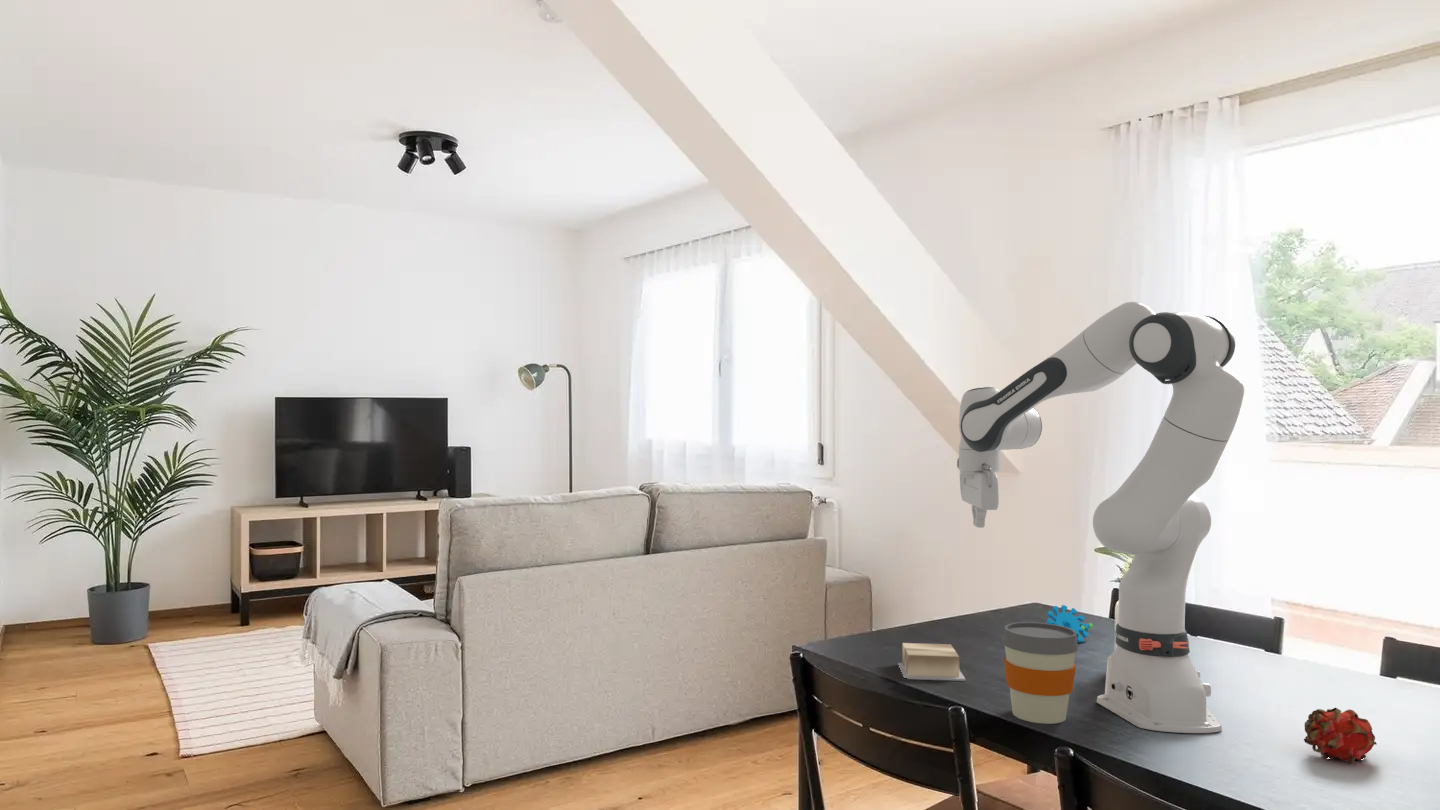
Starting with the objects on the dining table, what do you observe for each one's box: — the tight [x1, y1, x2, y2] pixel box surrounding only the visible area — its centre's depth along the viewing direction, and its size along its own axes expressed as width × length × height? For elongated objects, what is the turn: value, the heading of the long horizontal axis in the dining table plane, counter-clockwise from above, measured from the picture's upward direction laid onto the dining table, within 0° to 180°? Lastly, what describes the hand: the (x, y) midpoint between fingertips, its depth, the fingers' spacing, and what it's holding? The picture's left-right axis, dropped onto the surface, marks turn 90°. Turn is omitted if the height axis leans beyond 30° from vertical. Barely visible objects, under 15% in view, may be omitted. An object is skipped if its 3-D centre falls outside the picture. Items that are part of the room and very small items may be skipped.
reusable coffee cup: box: [1002, 621, 1079, 725], centre depth 168 cm, size 13×13×15 cm
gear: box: [1046, 604, 1094, 643], centre depth 225 cm, size 11×6×10 cm
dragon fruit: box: [1303, 707, 1378, 764], centre depth 149 cm, size 8×8×12 cm
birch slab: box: [901, 642, 960, 677], centre depth 195 cm, size 4×10×10 cm
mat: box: [897, 662, 967, 682], centre depth 194 cm, size 10×12×1 cm
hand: (978, 526), depth 206 cm, fingers closed
